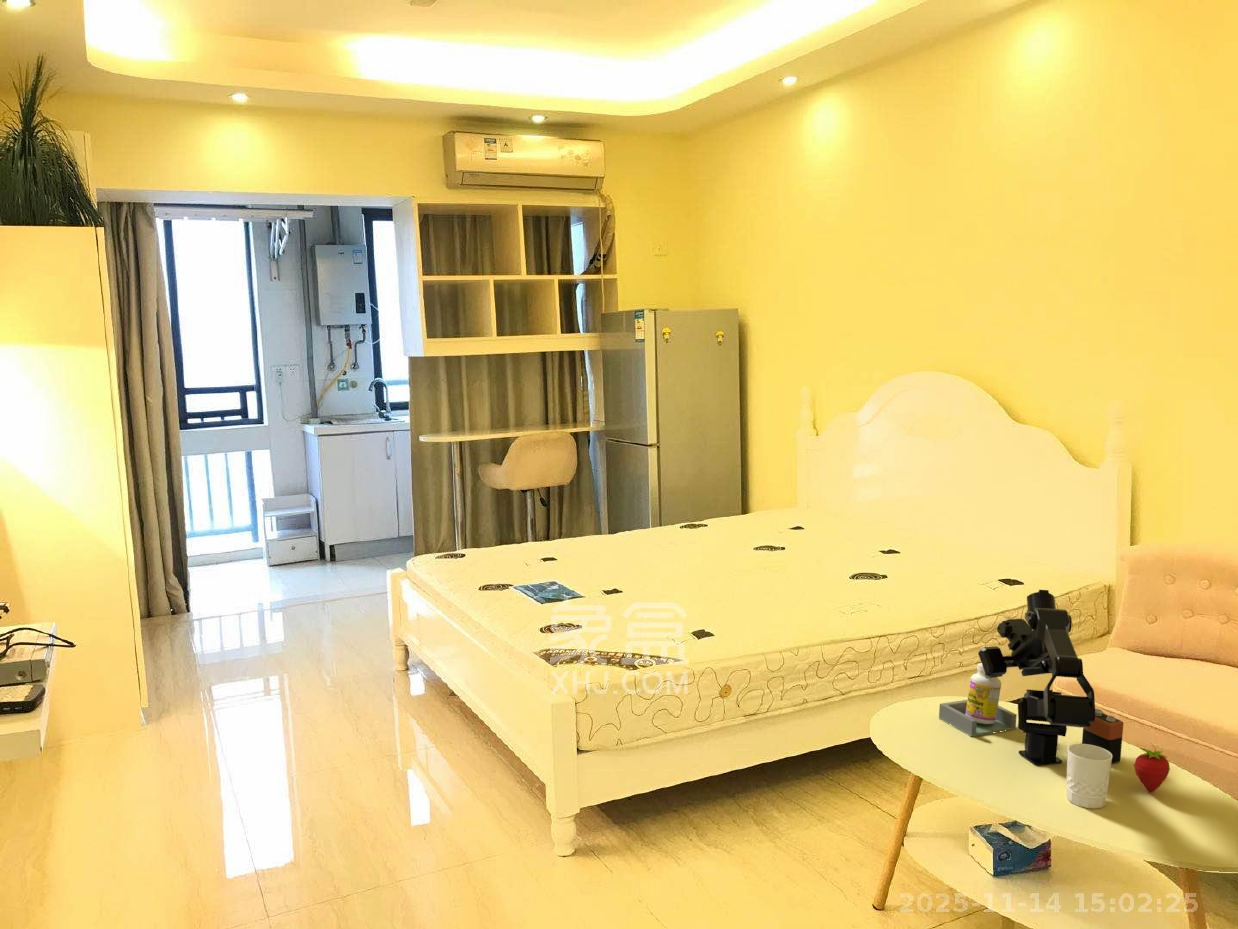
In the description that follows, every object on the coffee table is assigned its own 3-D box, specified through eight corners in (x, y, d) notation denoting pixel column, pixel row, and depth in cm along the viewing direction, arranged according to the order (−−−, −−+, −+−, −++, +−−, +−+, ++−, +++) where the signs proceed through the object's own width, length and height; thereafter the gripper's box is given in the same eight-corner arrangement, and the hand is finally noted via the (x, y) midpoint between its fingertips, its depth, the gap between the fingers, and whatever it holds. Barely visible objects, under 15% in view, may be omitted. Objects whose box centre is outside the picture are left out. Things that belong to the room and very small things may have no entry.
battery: (1094, 750, 222) (1098, 706, 221) (1121, 762, 216) (1125, 717, 214) (1079, 753, 220) (1083, 709, 219) (1106, 766, 214) (1110, 720, 213)
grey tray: (1015, 729, 233) (1016, 714, 232) (971, 737, 228) (972, 721, 228) (981, 712, 243) (982, 697, 242) (938, 718, 239) (939, 703, 238)
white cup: (1117, 805, 197) (1121, 755, 195) (1090, 814, 193) (1095, 763, 191) (1080, 788, 204) (1084, 740, 202) (1054, 797, 200) (1058, 748, 198)
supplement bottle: (958, 715, 237) (966, 661, 236) (980, 716, 239) (988, 662, 239) (979, 725, 230) (987, 669, 230) (1001, 725, 233) (1010, 670, 233)
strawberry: (1125, 791, 202) (1129, 743, 201) (1143, 781, 207) (1148, 734, 205) (1155, 803, 198) (1160, 754, 196) (1173, 792, 202) (1178, 744, 201)
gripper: (1061, 609, 227) (1027, 641, 240) (986, 613, 223) (955, 645, 236) (1081, 655, 221) (1045, 685, 233) (1004, 660, 217) (971, 690, 229)
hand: (1004, 675), depth 233 cm, fingers open, 9 cm apart
